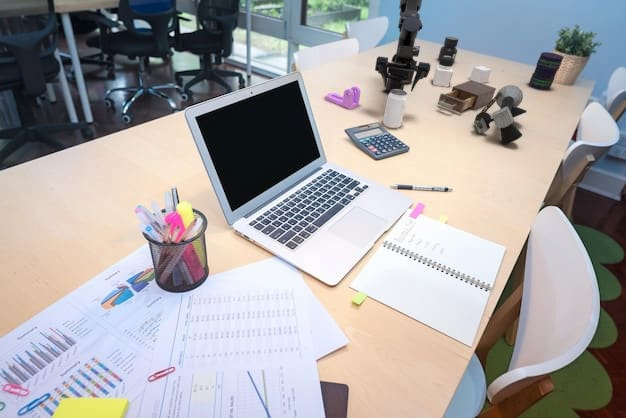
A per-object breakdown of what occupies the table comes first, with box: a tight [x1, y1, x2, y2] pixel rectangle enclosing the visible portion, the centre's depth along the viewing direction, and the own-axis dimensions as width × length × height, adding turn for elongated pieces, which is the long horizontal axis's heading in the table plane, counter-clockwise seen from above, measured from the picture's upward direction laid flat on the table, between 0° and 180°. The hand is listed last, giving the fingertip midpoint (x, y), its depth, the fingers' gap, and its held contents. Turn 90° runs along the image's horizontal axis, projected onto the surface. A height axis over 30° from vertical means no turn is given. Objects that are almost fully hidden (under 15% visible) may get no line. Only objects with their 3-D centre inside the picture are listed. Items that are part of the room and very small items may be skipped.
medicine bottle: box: [432, 56, 455, 88], centre depth 178 cm, size 7×7×12 cm
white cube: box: [469, 65, 492, 84], centre depth 189 cm, size 6×6×6 cm
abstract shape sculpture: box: [473, 84, 527, 145], centre depth 142 cm, size 15×13×30 cm
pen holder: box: [404, 58, 418, 85], centre depth 177 cm, size 9×9×10 cm
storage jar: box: [528, 52, 565, 91], centre depth 186 cm, size 10×10×15 cm
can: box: [382, 89, 408, 129], centre depth 136 cm, size 6×6×12 cm
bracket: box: [326, 85, 361, 110], centre depth 151 cm, size 13×6×7 cm, turn 50°
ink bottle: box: [437, 36, 460, 64], centre depth 211 cm, size 10×9×12 cm
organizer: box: [451, 79, 497, 111], centre depth 164 cm, size 16×12×6 cm
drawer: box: [437, 90, 476, 114], centre depth 156 cm, size 19×10×4 cm, turn 134°
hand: (398, 89), depth 137 cm, fingers open, 9 cm apart
